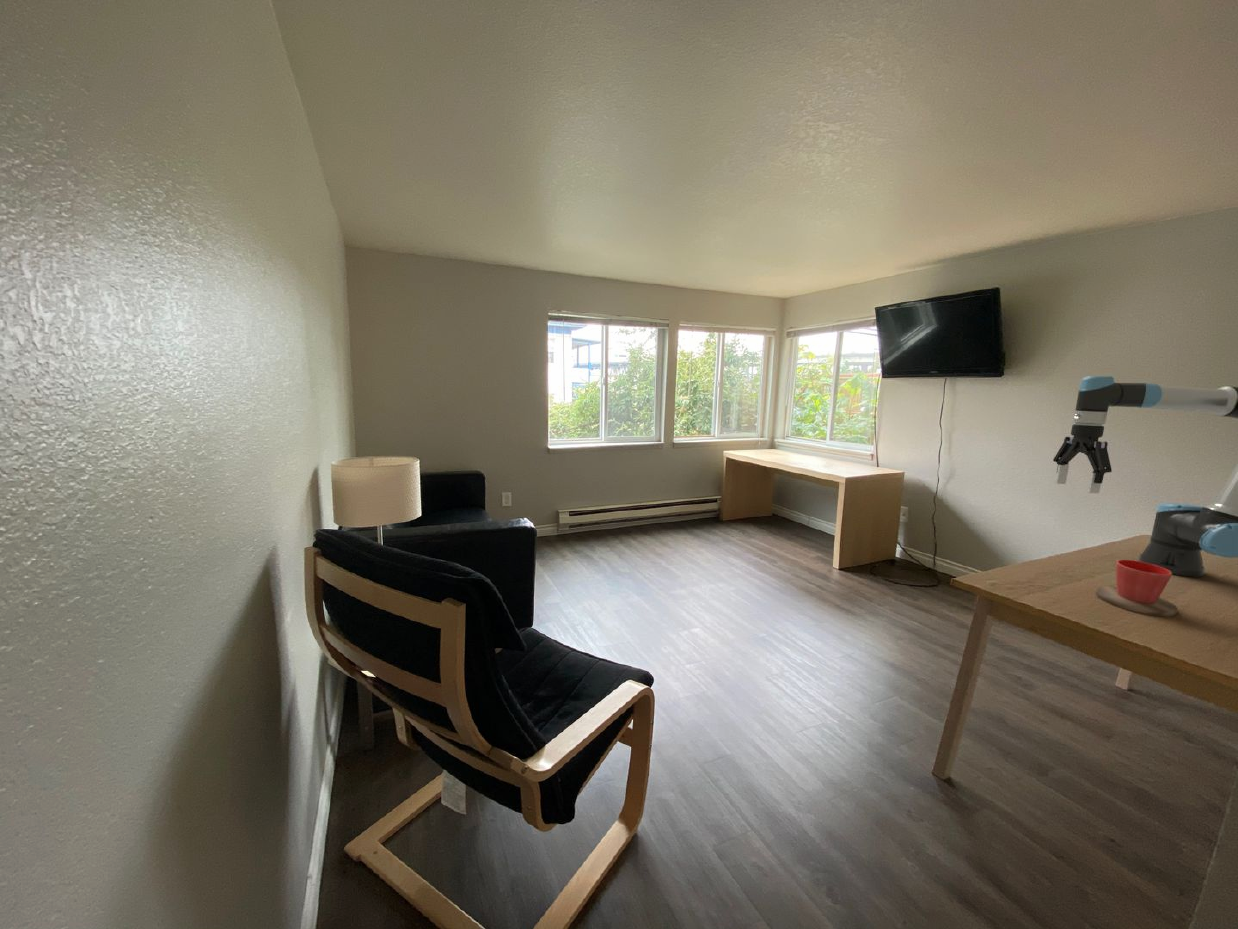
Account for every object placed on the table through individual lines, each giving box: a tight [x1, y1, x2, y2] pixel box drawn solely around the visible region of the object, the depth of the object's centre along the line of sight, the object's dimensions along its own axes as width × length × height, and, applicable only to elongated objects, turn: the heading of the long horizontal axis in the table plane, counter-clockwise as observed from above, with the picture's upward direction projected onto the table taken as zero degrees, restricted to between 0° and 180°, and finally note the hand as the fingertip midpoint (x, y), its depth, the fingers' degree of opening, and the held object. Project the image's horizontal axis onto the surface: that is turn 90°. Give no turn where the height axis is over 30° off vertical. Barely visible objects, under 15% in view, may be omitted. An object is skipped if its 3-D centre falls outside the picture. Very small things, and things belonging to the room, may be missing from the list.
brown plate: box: [1095, 585, 1178, 618], centre depth 139 cm, size 16×16×2 cm
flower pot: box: [1115, 559, 1173, 604], centre depth 138 cm, size 11×11×10 cm
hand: (1076, 488), depth 158 cm, fingers open, 13 cm apart
